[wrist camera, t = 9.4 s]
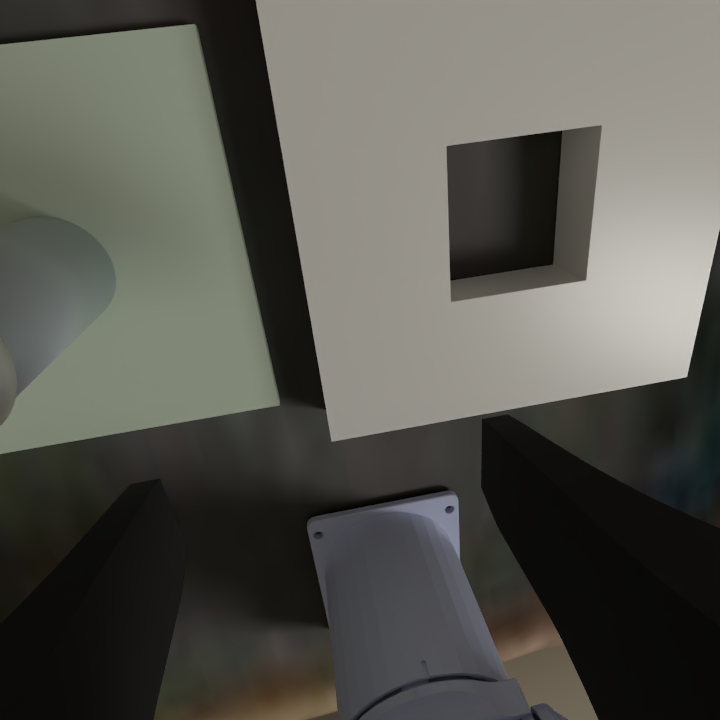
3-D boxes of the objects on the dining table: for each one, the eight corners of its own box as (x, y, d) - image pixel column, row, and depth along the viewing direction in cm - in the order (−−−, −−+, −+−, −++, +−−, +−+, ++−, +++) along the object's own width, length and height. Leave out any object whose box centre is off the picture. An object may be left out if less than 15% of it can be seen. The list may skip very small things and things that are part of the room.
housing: (647, 353, 23) (686, 377, 21) (326, 410, 22) (331, 441, 20) (721, -65, 16) (792, -98, 14) (253, -18, 15) (247, -46, 13)
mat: (279, 399, 21) (279, 405, 21) (-47, 455, 20) (-55, 463, 20) (197, 27, 15) (194, 23, 15) (-281, 78, 14) (-299, 76, 14)
